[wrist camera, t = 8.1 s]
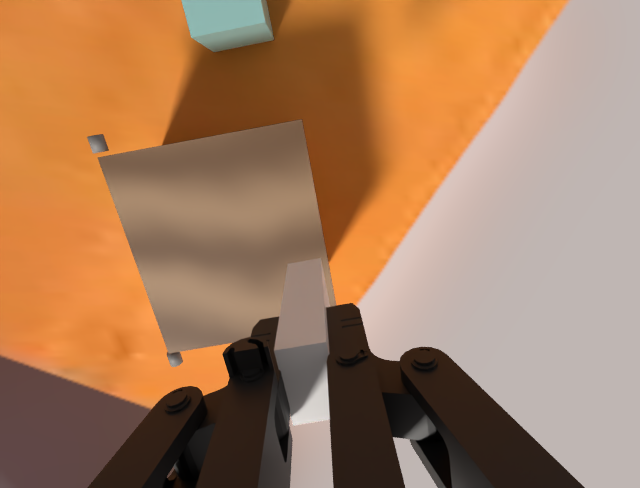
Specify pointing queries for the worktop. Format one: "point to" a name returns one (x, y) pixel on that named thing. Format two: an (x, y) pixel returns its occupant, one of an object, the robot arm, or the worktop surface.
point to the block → (228, 22)
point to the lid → (218, 228)
